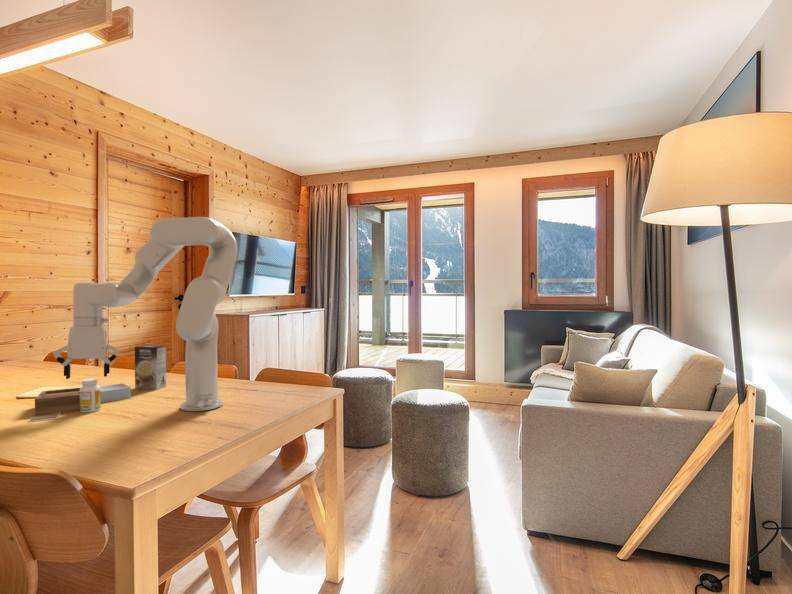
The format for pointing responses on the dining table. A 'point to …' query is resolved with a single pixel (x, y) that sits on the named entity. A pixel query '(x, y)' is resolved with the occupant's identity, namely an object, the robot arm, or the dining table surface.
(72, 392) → the walnut tray
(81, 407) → the supplement bottle
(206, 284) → the robot arm
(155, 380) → the coffee box
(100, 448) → the dining table surface
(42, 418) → the swatch
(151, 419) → the dining table surface
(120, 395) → the slate block
